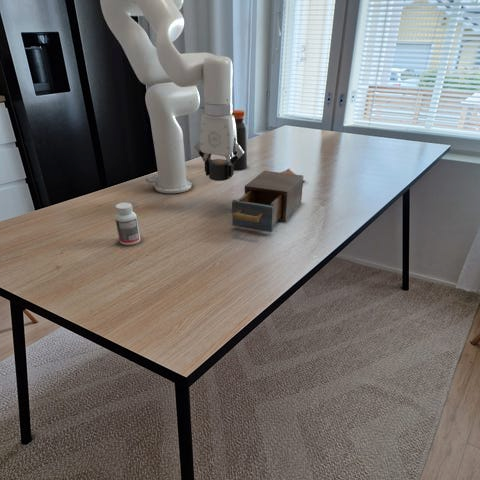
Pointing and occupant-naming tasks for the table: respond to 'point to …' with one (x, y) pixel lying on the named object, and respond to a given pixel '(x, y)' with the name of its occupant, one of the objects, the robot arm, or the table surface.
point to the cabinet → (280, 189)
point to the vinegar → (240, 139)
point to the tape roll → (217, 169)
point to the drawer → (257, 210)
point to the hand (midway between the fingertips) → (219, 175)
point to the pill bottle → (127, 224)
